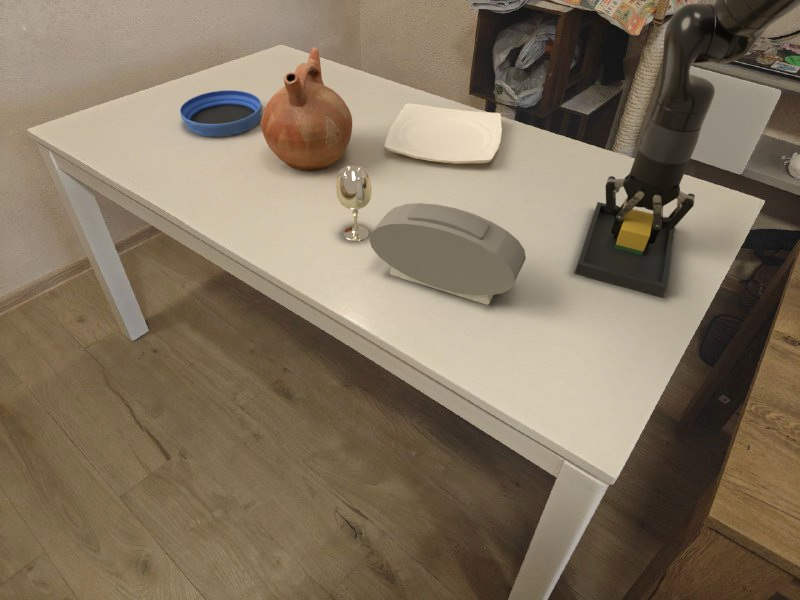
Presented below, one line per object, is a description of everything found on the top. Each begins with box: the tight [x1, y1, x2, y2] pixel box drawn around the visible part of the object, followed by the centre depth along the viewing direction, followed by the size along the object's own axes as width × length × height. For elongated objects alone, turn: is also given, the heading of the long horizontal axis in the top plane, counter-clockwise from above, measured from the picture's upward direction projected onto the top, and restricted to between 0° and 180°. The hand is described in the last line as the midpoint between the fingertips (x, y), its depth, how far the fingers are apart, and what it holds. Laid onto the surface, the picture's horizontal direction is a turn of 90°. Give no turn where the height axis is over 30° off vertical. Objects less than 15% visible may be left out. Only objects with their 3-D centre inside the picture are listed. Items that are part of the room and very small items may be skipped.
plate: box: [383, 102, 503, 165], centre depth 120 cm, size 24×24×3 cm
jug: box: [260, 46, 353, 172], centre depth 108 cm, size 18×18×20 cm
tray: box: [574, 201, 676, 298], centre depth 93 cm, size 20×14×2 cm
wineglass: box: [336, 165, 373, 242], centre depth 92 cm, size 6×6×12 cm
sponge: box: [615, 208, 653, 255], centre depth 93 cm, size 7×4×4 cm, turn 156°
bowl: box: [179, 89, 263, 138], centre depth 126 cm, size 18×18×4 cm
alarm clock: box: [368, 202, 526, 306], centre depth 83 cm, size 23×6×13 cm, turn 65°
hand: (631, 239), depth 94 cm, fingers closed on sponge, 4 cm apart
